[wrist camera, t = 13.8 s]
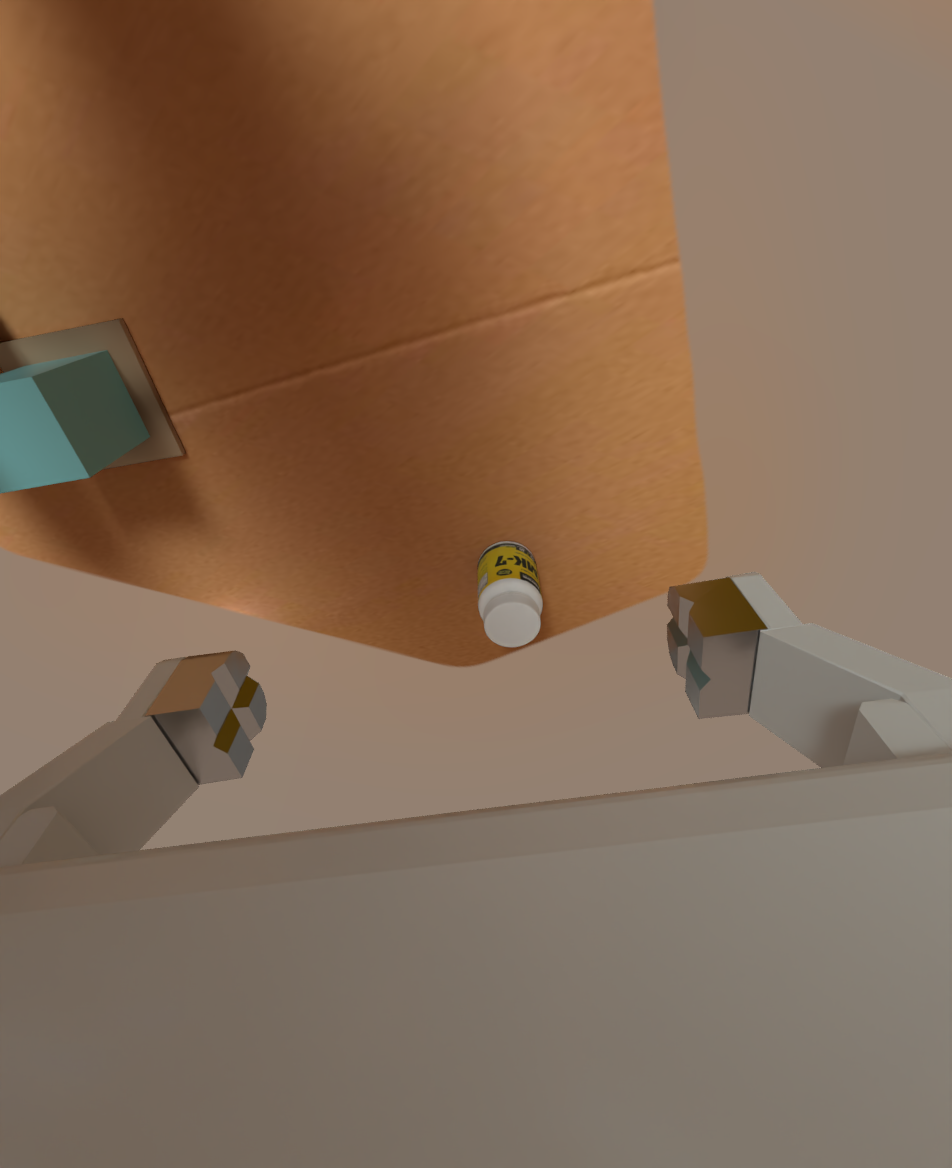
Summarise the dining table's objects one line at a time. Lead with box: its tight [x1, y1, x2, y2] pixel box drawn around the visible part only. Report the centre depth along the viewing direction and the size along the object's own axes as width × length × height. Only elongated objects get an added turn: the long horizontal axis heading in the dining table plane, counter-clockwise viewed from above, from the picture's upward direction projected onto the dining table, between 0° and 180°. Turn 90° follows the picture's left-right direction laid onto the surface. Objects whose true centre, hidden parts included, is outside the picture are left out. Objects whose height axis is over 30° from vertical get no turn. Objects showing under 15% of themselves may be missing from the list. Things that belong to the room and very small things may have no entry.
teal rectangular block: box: [0, 350, 150, 493], centre depth 35 cm, size 6×6×8 cm
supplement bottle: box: [478, 541, 543, 647], centre depth 42 cm, size 5×5×8 cm
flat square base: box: [0, 318, 185, 470], centre depth 36 cm, size 9×9×6 cm
